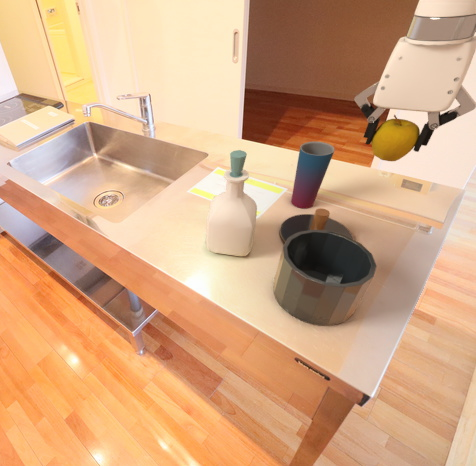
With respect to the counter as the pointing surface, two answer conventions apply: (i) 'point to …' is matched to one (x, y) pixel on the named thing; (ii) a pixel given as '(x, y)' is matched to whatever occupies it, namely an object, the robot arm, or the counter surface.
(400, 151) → the apple
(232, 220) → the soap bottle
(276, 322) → the counter surface
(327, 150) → the cup
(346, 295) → the pot
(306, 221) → the lid
